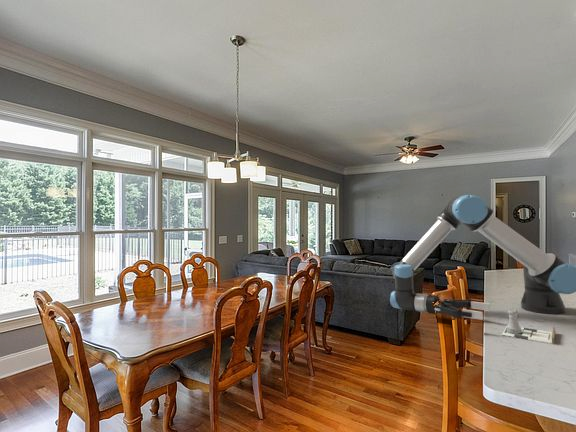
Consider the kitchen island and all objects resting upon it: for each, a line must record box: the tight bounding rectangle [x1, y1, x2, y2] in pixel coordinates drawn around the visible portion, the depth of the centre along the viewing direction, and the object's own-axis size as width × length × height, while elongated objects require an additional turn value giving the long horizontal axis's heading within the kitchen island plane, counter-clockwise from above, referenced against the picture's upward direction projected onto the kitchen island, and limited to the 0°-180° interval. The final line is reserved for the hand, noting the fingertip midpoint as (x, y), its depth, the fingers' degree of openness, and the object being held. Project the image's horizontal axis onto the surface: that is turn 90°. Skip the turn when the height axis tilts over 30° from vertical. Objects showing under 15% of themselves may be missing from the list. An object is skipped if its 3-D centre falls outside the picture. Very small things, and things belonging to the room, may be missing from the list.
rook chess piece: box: [506, 308, 523, 335], centre depth 114 cm, size 4×4×8 cm
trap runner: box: [501, 324, 556, 345], centre depth 111 cm, size 12×14×2 cm
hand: (486, 311), depth 119 cm, fingers open, 13 cm apart
